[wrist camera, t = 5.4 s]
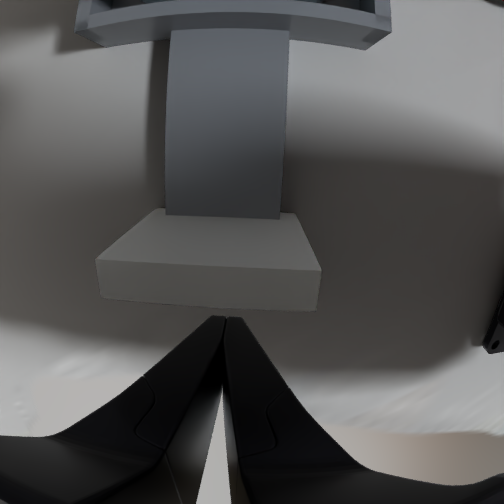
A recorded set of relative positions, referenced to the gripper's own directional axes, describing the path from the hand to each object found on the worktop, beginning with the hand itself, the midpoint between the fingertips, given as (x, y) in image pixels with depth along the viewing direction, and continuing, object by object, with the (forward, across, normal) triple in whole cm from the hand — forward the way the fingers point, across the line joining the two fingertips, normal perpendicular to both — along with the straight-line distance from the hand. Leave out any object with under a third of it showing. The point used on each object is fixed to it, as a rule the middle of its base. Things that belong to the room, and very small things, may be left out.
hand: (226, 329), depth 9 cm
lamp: (+2, 0, -7) cm, 7 cm away
